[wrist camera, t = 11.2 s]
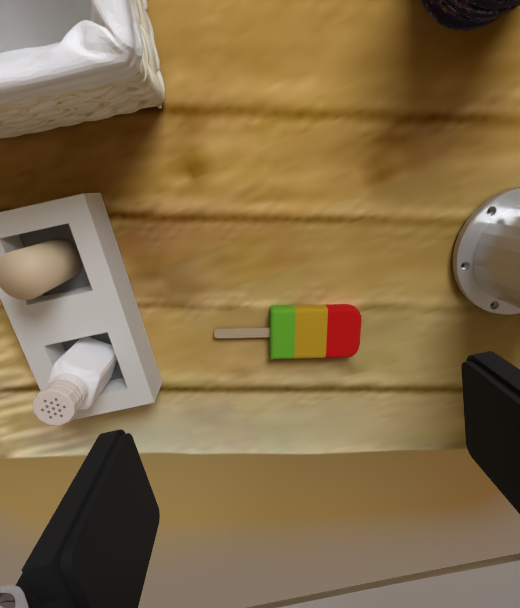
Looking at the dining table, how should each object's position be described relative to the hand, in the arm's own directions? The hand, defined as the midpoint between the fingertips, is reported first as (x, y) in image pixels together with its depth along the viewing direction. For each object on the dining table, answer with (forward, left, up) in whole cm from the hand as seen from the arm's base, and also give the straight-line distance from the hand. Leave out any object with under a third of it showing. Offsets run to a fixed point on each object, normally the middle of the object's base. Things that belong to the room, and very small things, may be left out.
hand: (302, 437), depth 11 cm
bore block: (+18, +1, -28) cm, 34 cm away
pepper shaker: (+18, +6, -27) cm, 33 cm away
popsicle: (-1, +8, -29) cm, 30 cm away
